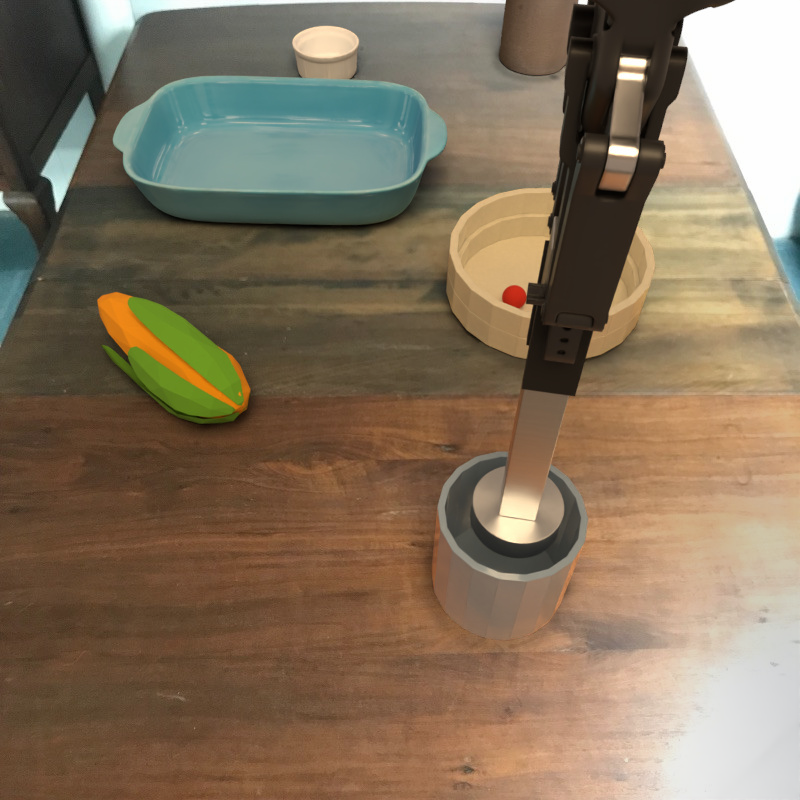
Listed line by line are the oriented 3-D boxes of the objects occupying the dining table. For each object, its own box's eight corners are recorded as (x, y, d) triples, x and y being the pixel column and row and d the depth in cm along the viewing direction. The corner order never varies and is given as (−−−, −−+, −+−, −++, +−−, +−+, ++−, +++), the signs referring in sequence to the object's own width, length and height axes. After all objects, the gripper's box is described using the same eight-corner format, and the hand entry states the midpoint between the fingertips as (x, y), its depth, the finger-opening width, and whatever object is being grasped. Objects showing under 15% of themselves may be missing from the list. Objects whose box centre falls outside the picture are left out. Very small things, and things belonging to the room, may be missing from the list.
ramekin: (286, 63, 110) (282, 32, 106) (345, 50, 112) (343, 20, 109) (308, 94, 105) (306, 63, 101) (370, 80, 107) (369, 49, 104)
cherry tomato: (529, 308, 79) (533, 290, 77) (511, 317, 78) (514, 300, 76) (514, 294, 80) (517, 276, 78) (495, 303, 79) (498, 286, 77)
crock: (589, 594, 60) (619, 528, 52) (486, 669, 57) (501, 610, 49) (505, 501, 65) (521, 429, 58) (405, 564, 62) (408, 496, 54)
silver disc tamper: (578, 528, 53) (678, 246, 34) (509, 575, 51) (576, 301, 32) (519, 467, 56) (583, 178, 37) (452, 508, 54) (484, 224, 35)
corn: (196, 402, 62) (50, 284, 70) (208, 462, 67) (72, 346, 76) (267, 354, 66) (121, 248, 74) (273, 414, 71) (136, 309, 79)
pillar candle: (488, 47, 113) (500, -67, 102) (551, 37, 115) (569, -76, 104) (514, 81, 107) (530, -36, 96) (580, 70, 109) (602, -45, 98)
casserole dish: (104, 236, 86) (85, 180, 80) (153, 122, 100) (140, 68, 95) (443, 249, 85) (446, 193, 80) (444, 132, 99) (448, 79, 94)
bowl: (680, 312, 80) (698, 267, 75) (531, 398, 72) (541, 354, 68) (550, 211, 90) (559, 166, 85) (408, 278, 82) (409, 232, 78)
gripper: (558, -246, 28) (493, 260, 47) (526, -83, 19) (460, 475, 37) (775, -234, 28) (623, 275, 46) (858, -58, 18) (623, 500, 36)
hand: (550, 364), depth 41 cm, fingers closed on silver disc tamper, 2 cm apart
